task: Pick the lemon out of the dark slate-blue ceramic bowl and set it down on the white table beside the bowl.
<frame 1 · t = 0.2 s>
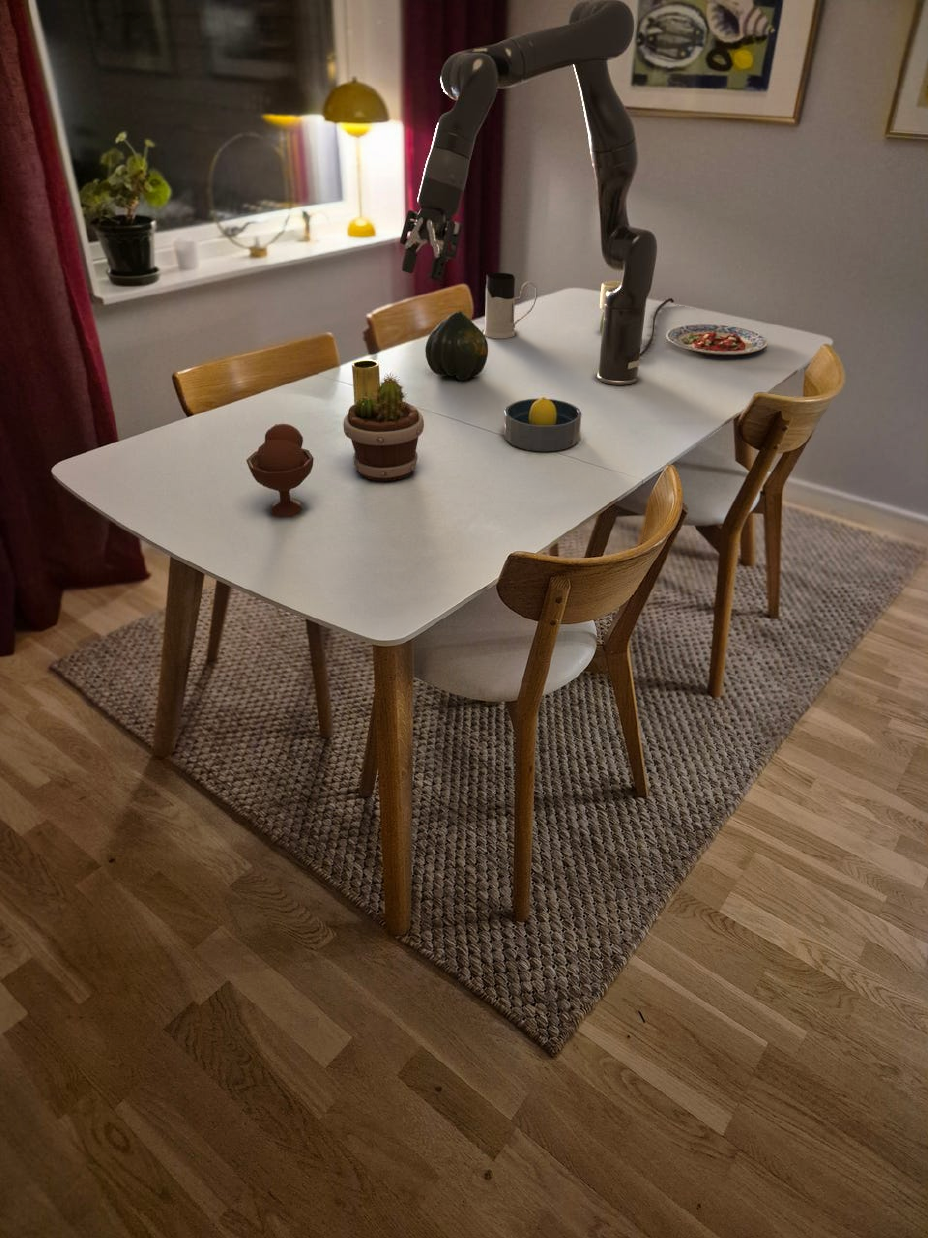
hand: (420, 276, 155), 31 cm above the table, tool tilted 20°, fingers open, 8 cm apart
flowerpot: (386, 471, 158), on the table
bowl: (541, 437, 171), on the table
vase: (369, 433, 174), on the table
squash: (456, 375, 203), on the table
ice cream bowl: (286, 510, 145), on the table
lemon: (541, 436, 171), resting on bowl
glass holder: (509, 334, 231), on the table
ceramic plate: (714, 346, 222), on the table
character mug: (610, 334, 231), on the table
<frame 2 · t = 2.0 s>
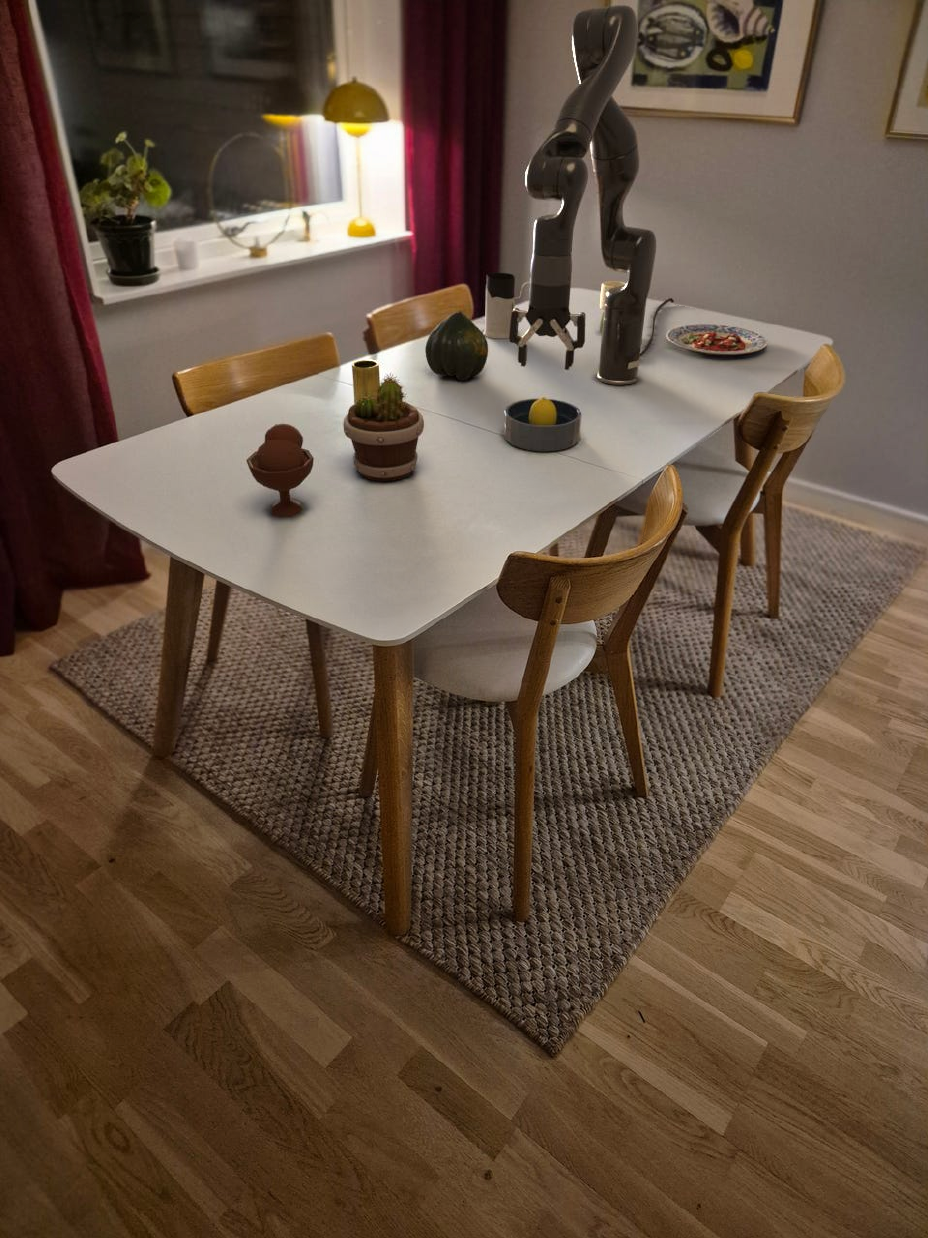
hand: (545, 366, 163), 15 cm above the table, tool pointing down, fingers open, 8 cm apart
nothing on the table moved.
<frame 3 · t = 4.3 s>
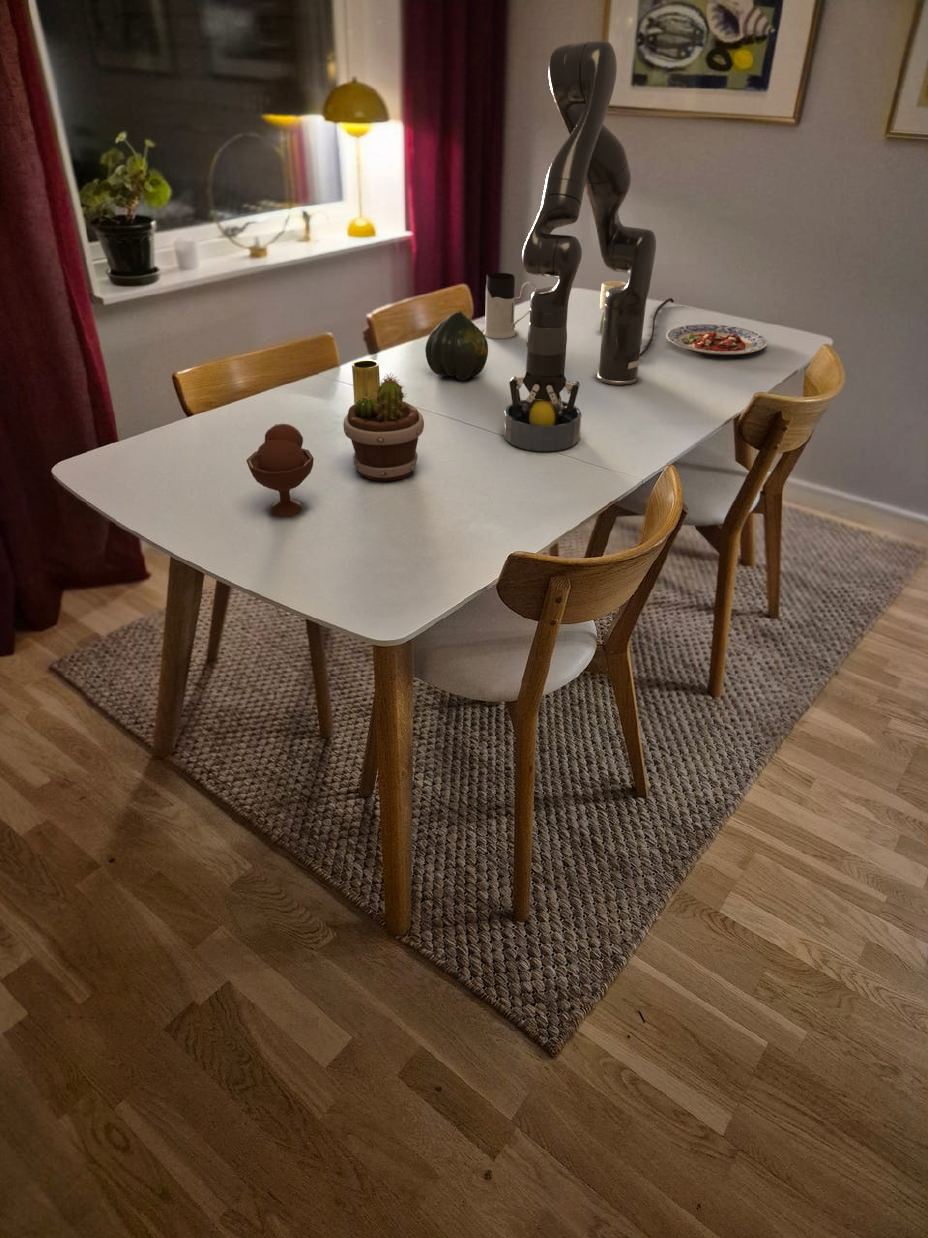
hand: (541, 430, 170), 2 cm above the table, tool pointing down, fingers closed on lemon, 5 cm apart
lemon: (541, 436, 171), resting on bowl, touching gripper
everything else where it was.
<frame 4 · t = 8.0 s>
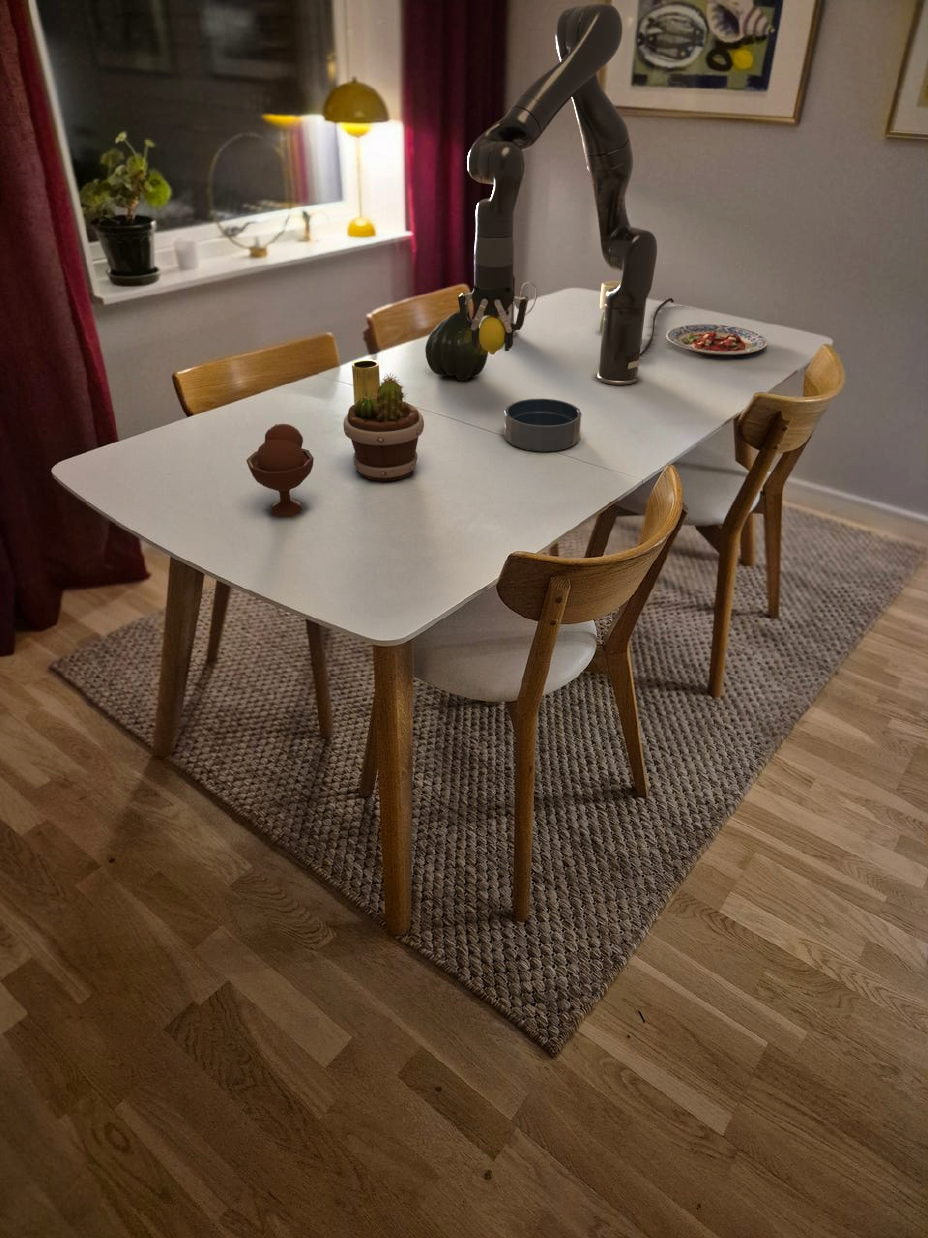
hand: (492, 348, 170), 15 cm above the table, tool pointing down, fingers closed on lemon, 5 cm apart
lemon: (492, 355, 170), point 14 cm above the table, touching gripper
everything else where it was.
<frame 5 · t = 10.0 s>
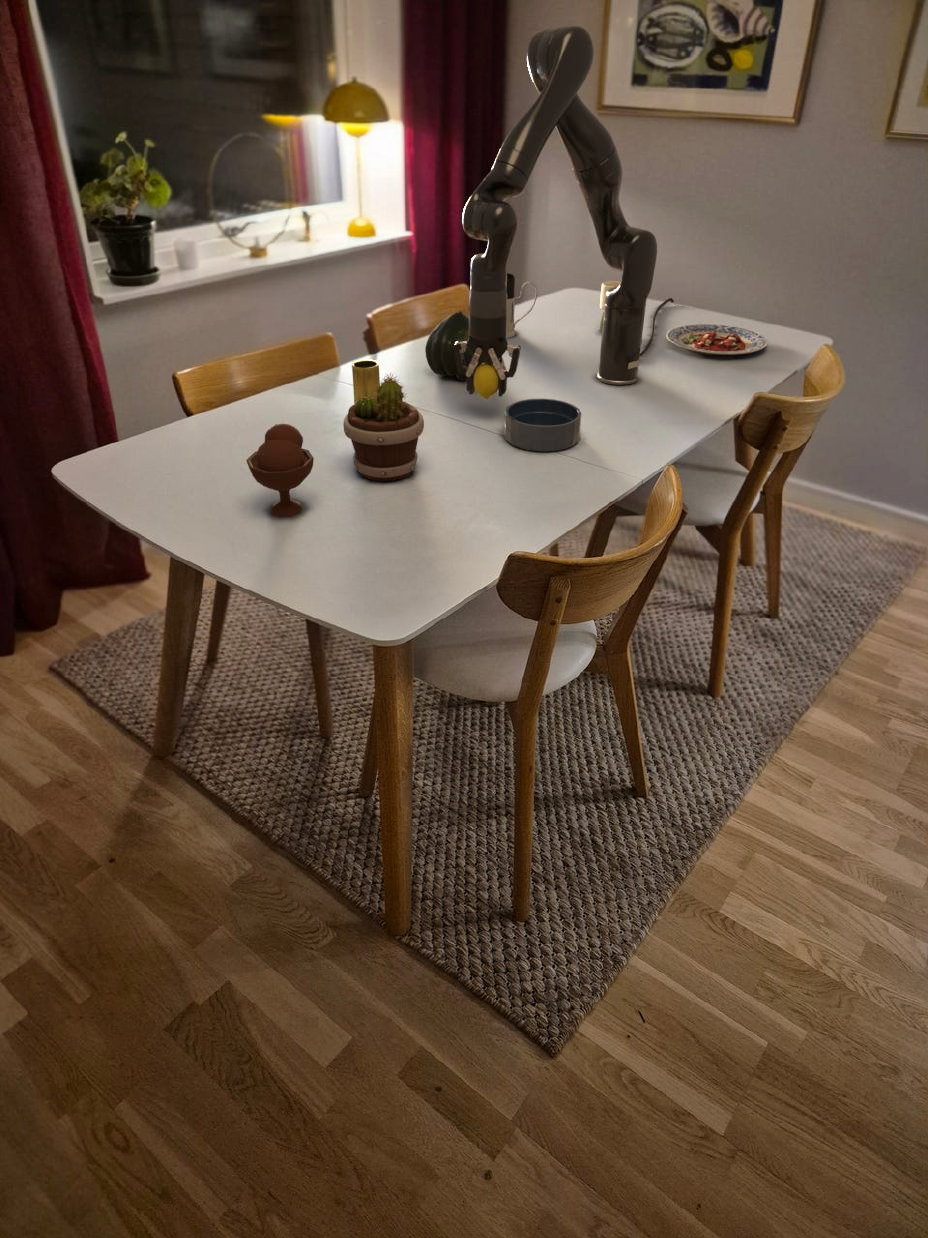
hand: (486, 393, 176), 6 cm above the table, tool pointing down, fingers closed on lemon, 5 cm apart
lemon: (486, 400, 176), point 4 cm above the table, touching gripper
everything else where it was.
when the fingers open (1 cm above the table, at t = 11.7 s): lemon stays where it is, on the table.
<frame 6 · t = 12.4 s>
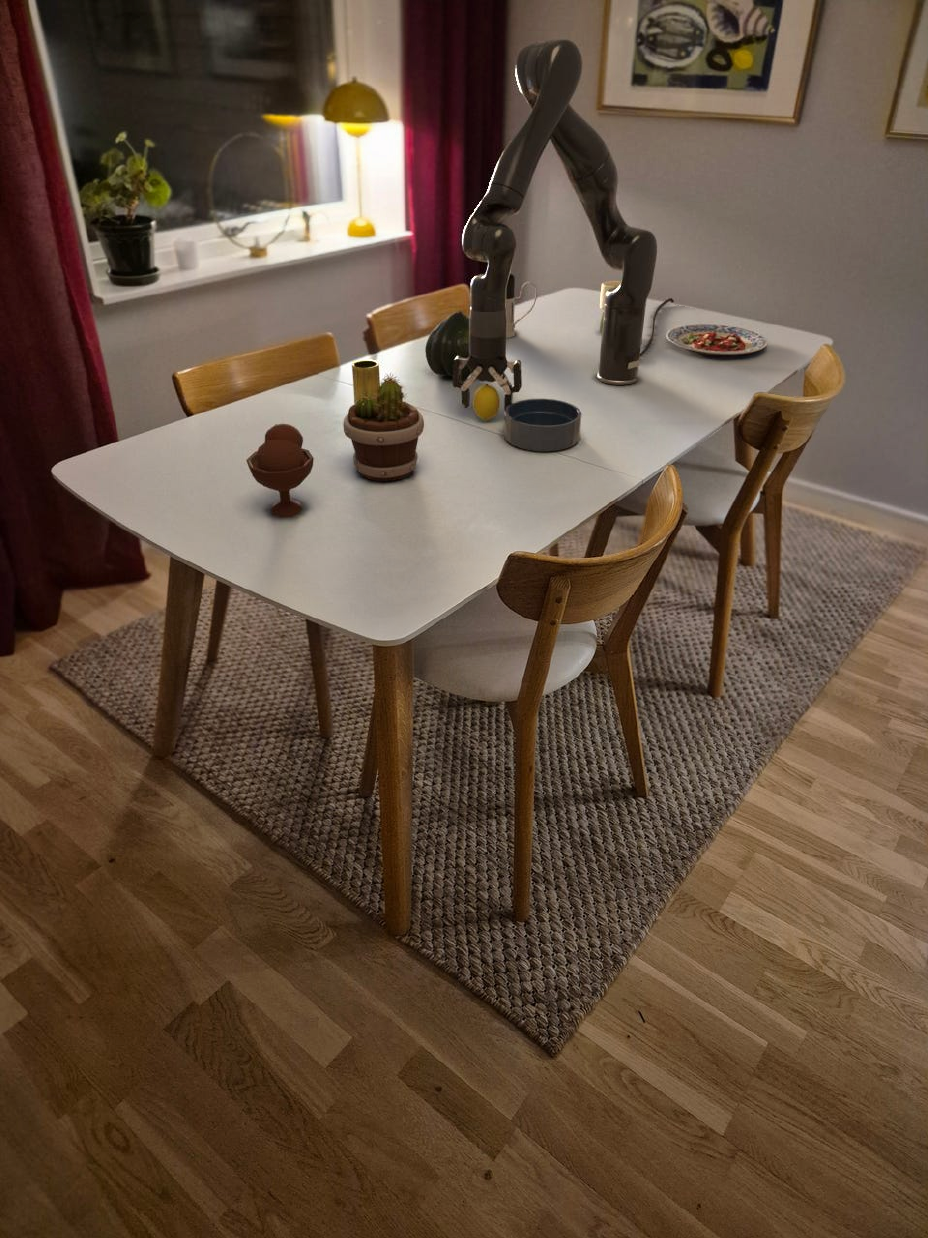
hand: (486, 408, 177), 3 cm above the table, tool pointing down, fingers open, 8 cm apart
lemon: (486, 421, 179), on the table
everything else where it was.
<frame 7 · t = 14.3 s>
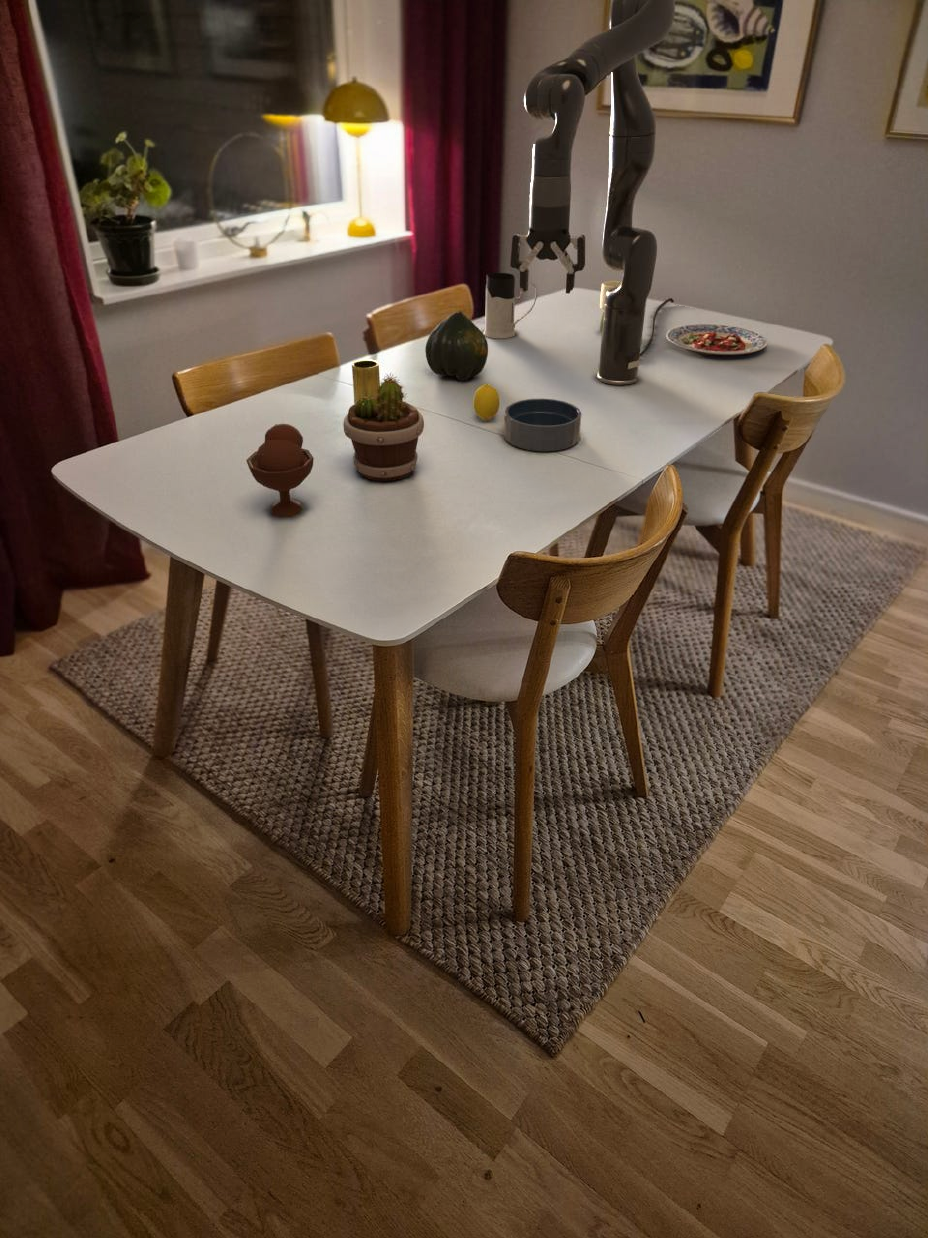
hand: (546, 291, 166), 26 cm above the table, tool pointing down, fingers open, 8 cm apart
nothing on the table moved.
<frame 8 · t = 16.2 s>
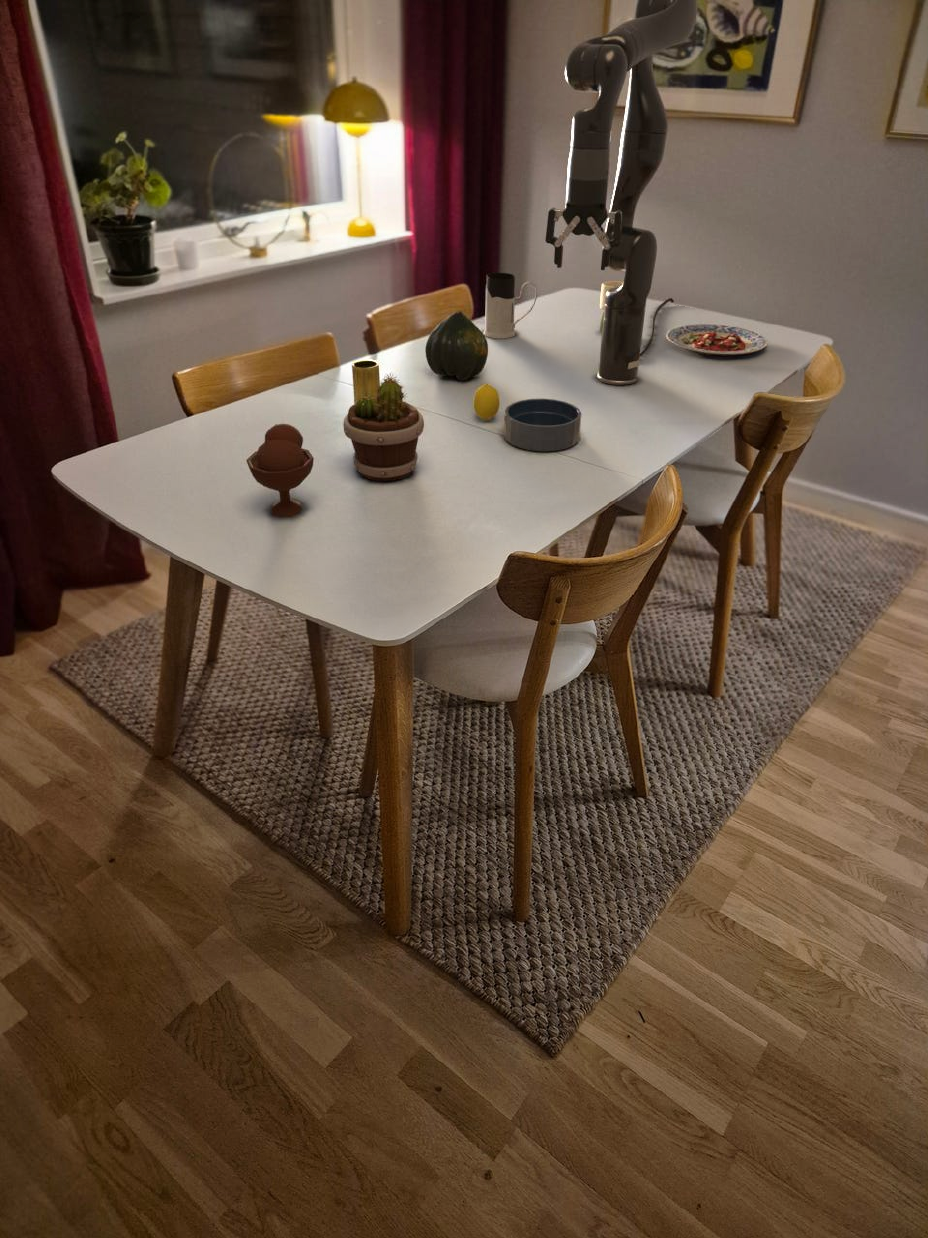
hand: (580, 268, 164), 30 cm above the table, tool pointing down, fingers open, 8 cm apart
nothing on the table moved.
at the end: lemon inside the target area (0.0 cm from its centre), on the table; lemon touching table; the gripper is holding nothing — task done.
